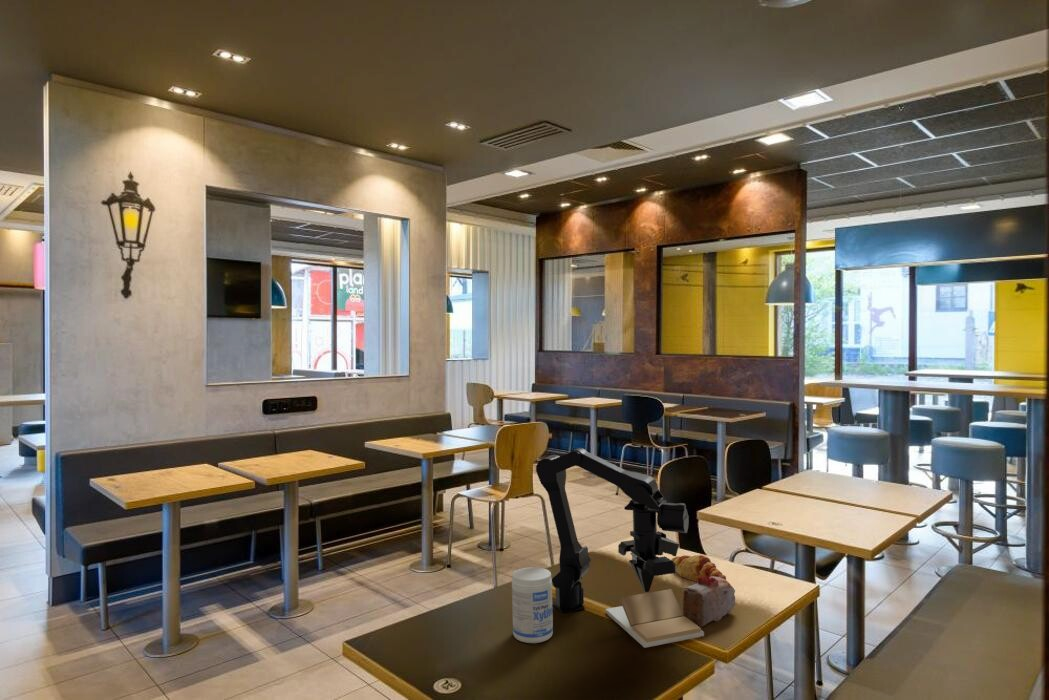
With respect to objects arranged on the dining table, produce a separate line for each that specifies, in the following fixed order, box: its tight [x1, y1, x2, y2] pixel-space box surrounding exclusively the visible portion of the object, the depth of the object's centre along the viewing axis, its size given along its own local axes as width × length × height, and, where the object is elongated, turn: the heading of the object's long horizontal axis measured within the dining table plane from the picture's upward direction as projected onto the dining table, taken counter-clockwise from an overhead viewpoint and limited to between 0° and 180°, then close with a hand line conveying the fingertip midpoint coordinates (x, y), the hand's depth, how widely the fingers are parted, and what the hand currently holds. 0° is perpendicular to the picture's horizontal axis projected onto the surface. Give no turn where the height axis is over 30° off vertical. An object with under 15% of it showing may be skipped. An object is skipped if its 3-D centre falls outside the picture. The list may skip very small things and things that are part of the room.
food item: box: [682, 576, 736, 628], centre depth 156 cm, size 14×8×10 cm, turn 132°
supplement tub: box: [511, 566, 554, 644], centre depth 149 cm, size 10×10×15 cm
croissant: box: [670, 554, 727, 583], centre depth 183 cm, size 21×10×8 cm, turn 31°
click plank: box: [619, 588, 684, 627], centre depth 153 cm, size 14×7×1 cm
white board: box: [605, 605, 705, 649], centre depth 153 cm, size 16×20×2 cm
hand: (646, 591), depth 155 cm, fingers closed
